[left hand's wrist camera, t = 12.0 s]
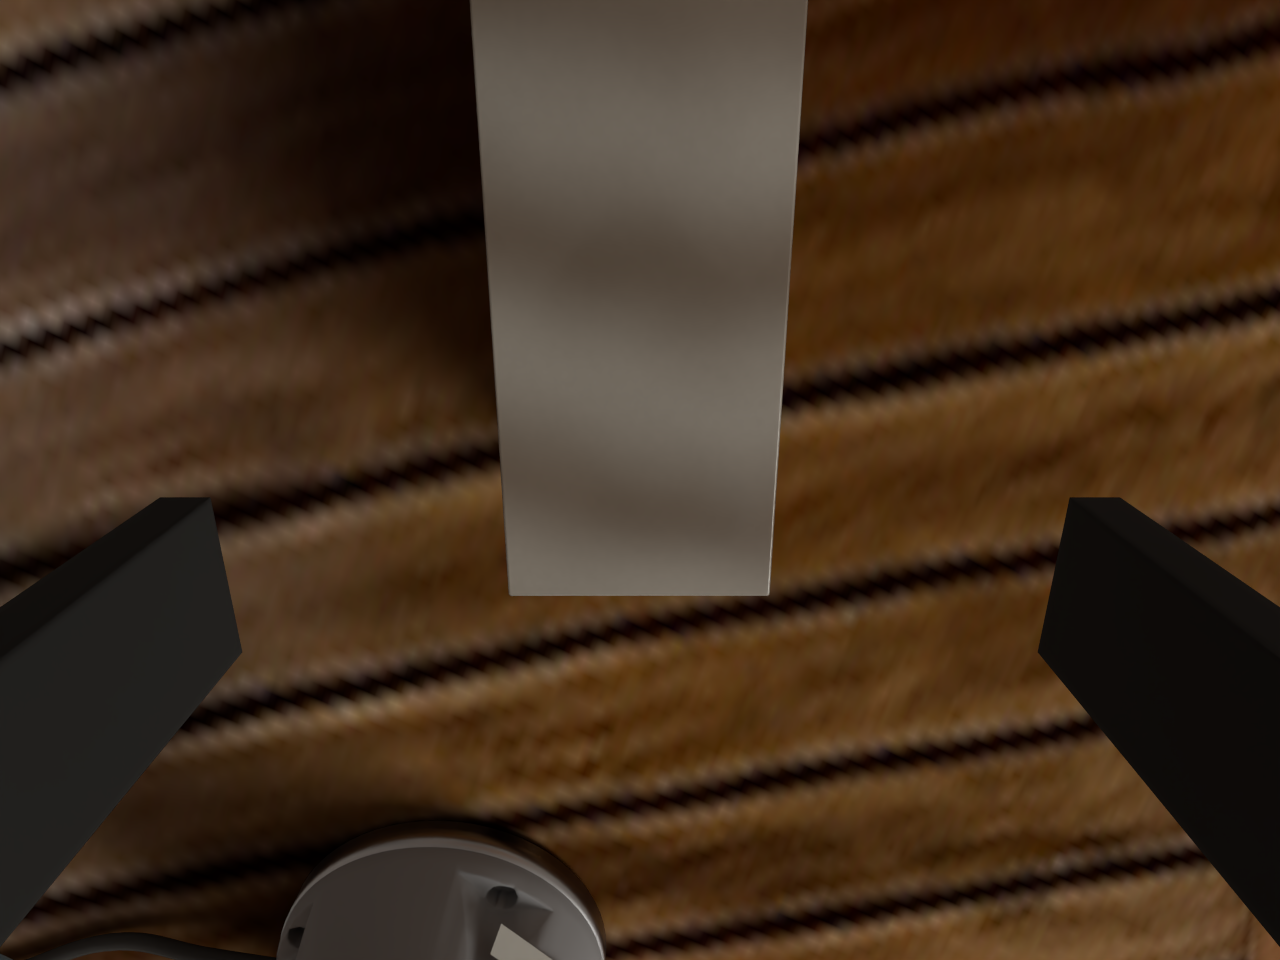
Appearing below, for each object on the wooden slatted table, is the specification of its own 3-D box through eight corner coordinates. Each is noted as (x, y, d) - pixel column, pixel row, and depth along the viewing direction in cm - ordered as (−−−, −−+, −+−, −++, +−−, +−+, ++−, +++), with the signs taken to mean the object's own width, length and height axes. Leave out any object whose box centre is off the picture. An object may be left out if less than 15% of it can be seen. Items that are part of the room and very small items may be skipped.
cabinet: (527, -81, 24) (452, -248, 15) (750, -81, 24) (825, -248, 15) (550, 459, 31) (508, 596, 21) (728, 459, 31) (769, 596, 21)
